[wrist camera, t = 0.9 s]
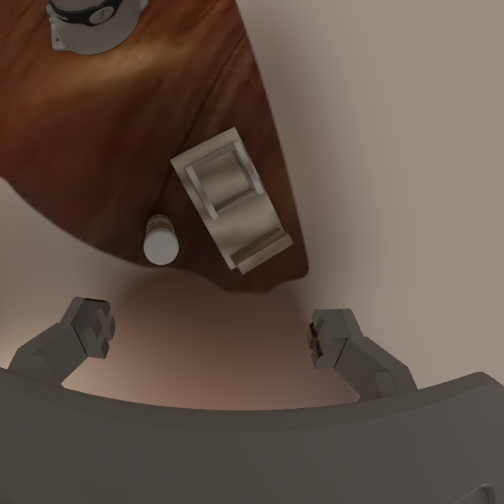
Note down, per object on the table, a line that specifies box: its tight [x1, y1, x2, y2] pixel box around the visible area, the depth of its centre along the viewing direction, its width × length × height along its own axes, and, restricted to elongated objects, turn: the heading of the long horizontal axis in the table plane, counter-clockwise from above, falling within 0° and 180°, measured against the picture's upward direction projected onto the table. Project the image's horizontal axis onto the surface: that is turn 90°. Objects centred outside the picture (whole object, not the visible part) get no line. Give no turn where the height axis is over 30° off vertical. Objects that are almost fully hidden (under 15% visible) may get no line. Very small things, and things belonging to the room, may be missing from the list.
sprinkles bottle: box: [144, 214, 179, 265], centre depth 41 cm, size 5×5×14 cm
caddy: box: [170, 127, 293, 274], centre depth 47 cm, size 22×12×6 cm, turn 26°
